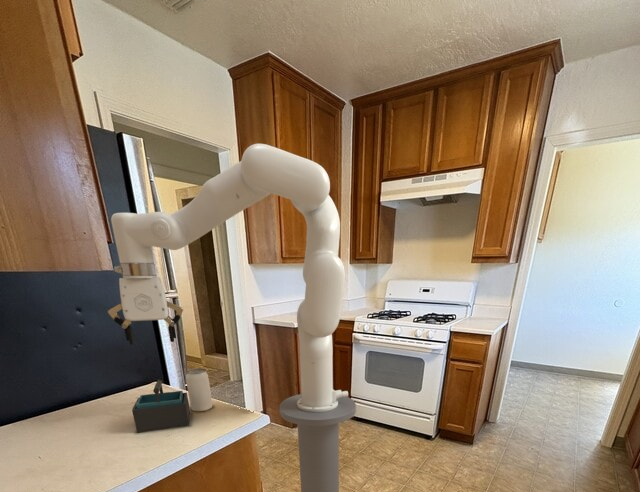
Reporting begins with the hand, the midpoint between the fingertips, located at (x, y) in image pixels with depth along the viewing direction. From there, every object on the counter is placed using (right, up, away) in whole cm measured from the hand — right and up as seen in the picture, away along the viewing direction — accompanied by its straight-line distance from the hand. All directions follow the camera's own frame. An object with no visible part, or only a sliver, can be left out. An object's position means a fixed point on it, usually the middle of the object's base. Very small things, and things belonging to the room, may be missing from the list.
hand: (152, 342), depth 92 cm
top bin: (-1, -21, +8) cm, 22 cm away
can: (+7, -17, +18) cm, 26 cm away
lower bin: (-1, -21, +9) cm, 23 cm away
